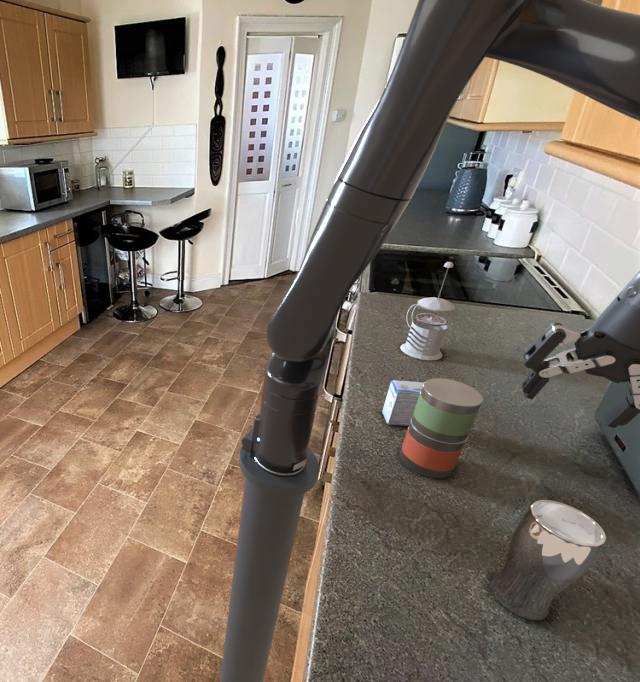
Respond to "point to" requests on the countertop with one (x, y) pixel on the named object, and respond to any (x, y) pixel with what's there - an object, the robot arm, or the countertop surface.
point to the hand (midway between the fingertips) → (566, 408)
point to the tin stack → (440, 427)
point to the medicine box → (401, 402)
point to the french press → (426, 346)
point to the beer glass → (546, 557)
